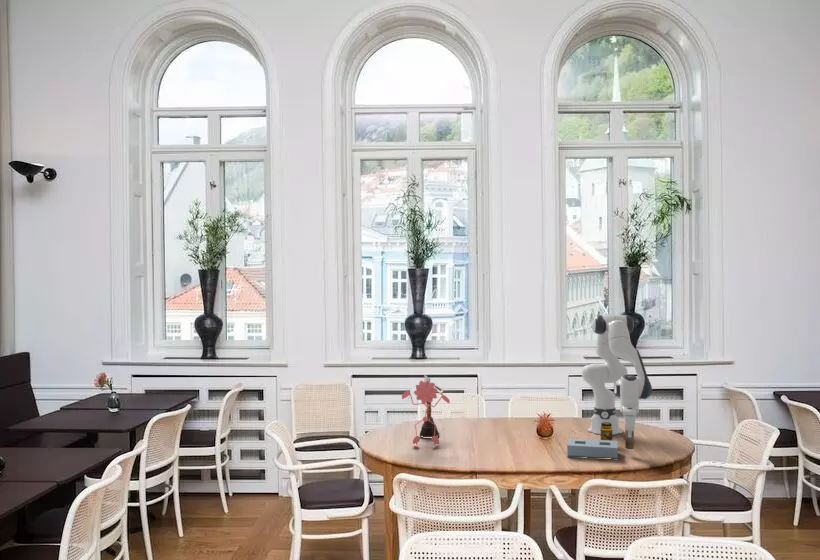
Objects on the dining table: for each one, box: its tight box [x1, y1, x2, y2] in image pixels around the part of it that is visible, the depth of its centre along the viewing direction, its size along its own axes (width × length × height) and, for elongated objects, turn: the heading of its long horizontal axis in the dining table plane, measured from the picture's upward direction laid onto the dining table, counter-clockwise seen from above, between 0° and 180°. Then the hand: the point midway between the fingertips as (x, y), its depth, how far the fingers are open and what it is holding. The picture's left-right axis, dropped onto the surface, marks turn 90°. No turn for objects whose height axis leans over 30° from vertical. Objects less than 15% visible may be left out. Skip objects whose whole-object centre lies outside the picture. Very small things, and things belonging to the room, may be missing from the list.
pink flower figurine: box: [401, 380, 451, 447], centre depth 380 cm, size 15×26×35 cm, turn 83°
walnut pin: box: [624, 424, 635, 450], centre depth 353 cm, size 4×4×14 cm
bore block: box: [566, 438, 619, 460], centre depth 356 cm, size 14×24×6 cm, turn 75°
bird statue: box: [418, 374, 444, 437], centre depth 399 cm, size 17×13×35 cm
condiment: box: [600, 422, 614, 441], centre depth 374 cm, size 7×8×12 cm
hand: (629, 435), depth 353 cm, fingers closed on walnut pin, 4 cm apart
